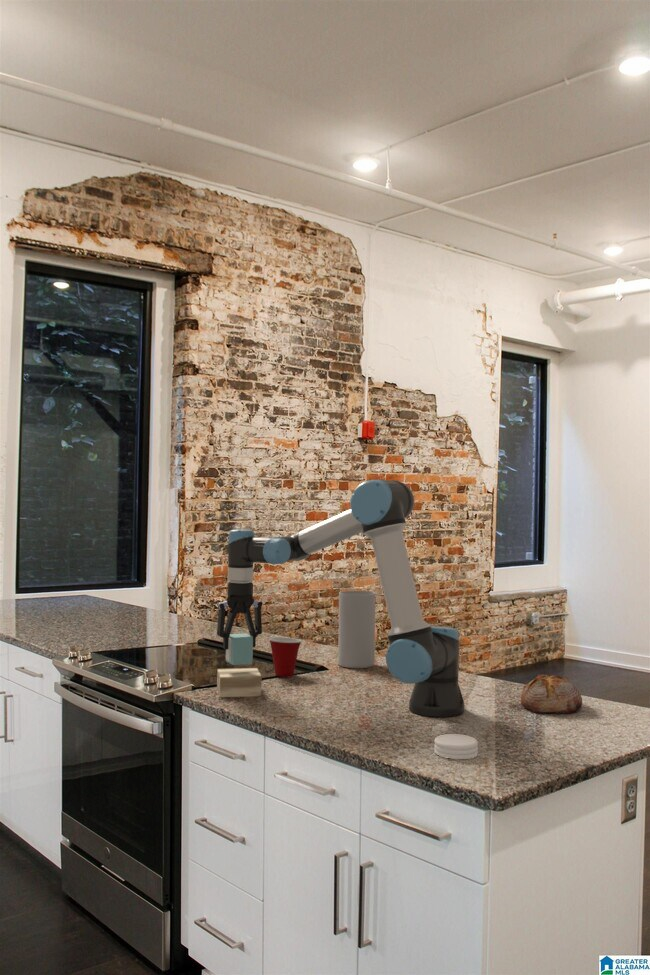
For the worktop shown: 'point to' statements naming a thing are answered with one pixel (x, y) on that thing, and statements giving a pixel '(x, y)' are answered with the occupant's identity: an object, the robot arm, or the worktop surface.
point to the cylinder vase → (356, 629)
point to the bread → (551, 695)
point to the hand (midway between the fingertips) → (239, 659)
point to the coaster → (456, 746)
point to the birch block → (239, 682)
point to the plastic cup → (284, 655)
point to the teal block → (241, 649)
